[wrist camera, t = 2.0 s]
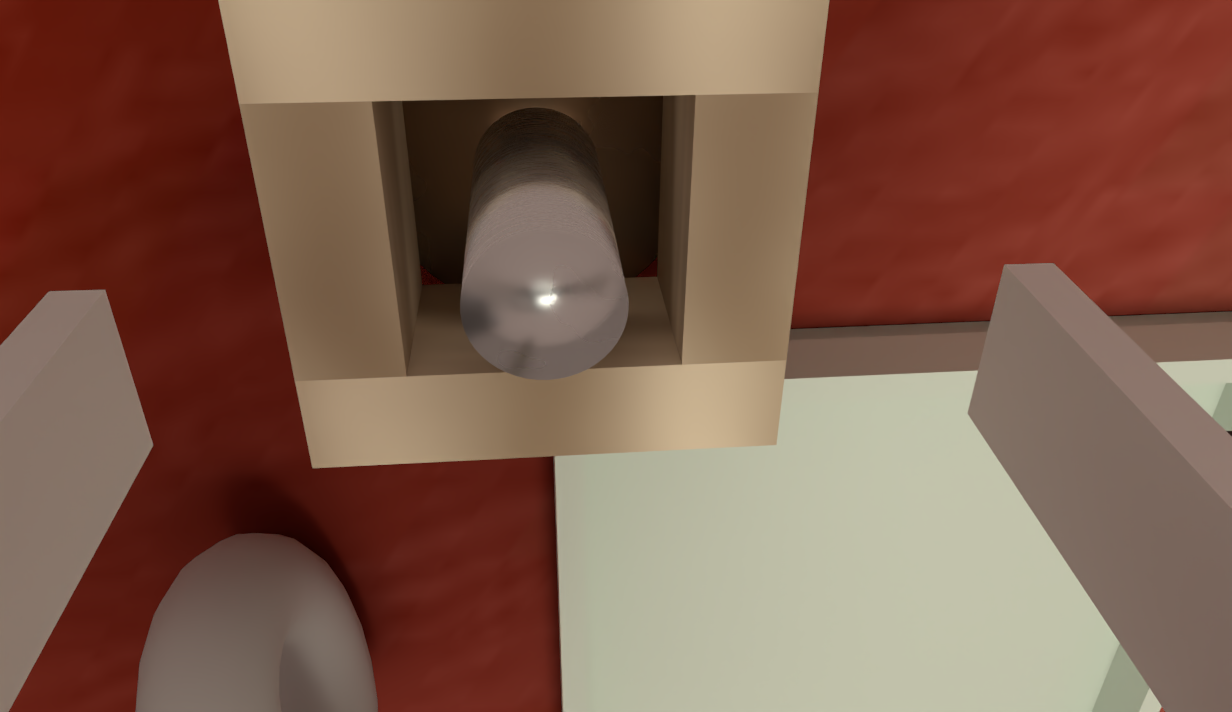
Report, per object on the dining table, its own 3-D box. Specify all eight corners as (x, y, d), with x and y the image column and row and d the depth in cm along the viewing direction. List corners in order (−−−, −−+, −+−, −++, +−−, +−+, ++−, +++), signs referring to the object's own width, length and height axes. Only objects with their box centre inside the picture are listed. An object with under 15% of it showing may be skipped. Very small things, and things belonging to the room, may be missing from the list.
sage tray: (564, 799, 39) (567, 862, 36) (549, 338, 27) (552, 389, 25) (1077, 759, 40) (1110, 816, 38) (1263, 310, 29) (1325, 354, 27)
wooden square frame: (340, 367, 24) (312, 468, 20) (266, -72, 18) (211, -35, 15) (739, 350, 25) (776, 445, 21) (777, -75, 19) (834, -41, 16)
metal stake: (403, 260, 26) (353, 489, 18) (369, -26, 22) (286, 100, 14) (671, 251, 26) (741, 469, 18) (682, -28, 22) (778, 89, 14)
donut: (182, 478, 29) (44, 777, 20) (292, 450, 29) (200, 741, 20) (315, 689, 34) (250, 996, 26) (409, 666, 34) (374, 969, 25)
